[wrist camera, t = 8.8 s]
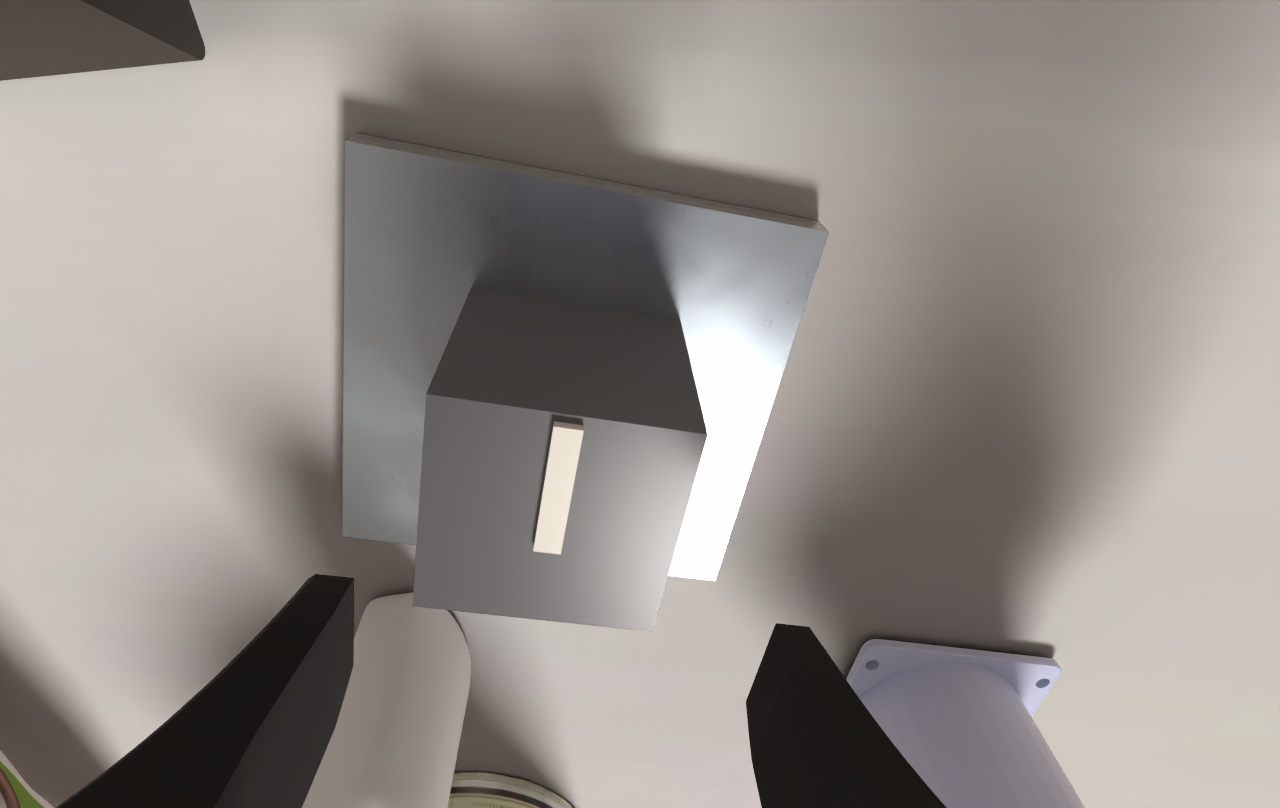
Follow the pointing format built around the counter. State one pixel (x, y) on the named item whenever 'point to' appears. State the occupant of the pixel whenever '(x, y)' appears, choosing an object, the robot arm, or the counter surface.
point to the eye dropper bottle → (398, 712)
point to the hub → (561, 271)
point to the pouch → (17, 789)
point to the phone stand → (94, 35)
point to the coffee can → (500, 792)
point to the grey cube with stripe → (556, 462)
